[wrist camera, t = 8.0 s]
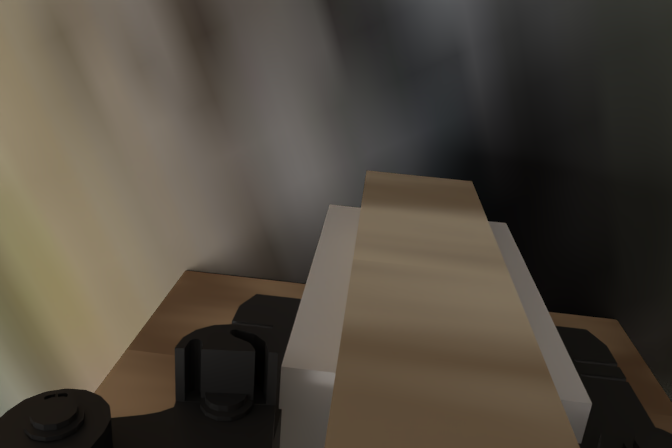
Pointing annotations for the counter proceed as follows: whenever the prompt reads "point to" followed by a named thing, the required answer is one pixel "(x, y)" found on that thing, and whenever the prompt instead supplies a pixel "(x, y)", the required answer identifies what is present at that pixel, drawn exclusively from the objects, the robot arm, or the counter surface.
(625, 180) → the counter surface
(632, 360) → the walnut board
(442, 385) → the maple plate
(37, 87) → the counter surface
